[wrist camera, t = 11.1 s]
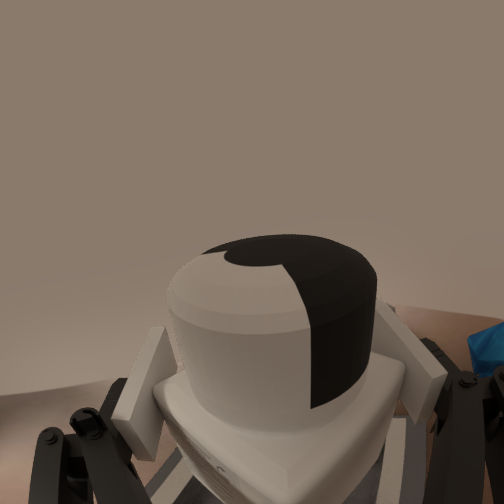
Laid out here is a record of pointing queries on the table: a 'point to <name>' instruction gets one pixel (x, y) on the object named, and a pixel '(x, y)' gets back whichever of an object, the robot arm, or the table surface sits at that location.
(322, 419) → the container
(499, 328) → the blue lump
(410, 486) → the collar plate
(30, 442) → the table surface
